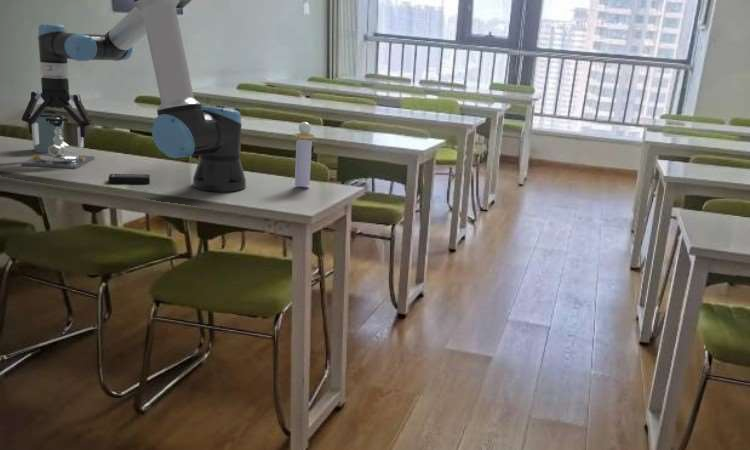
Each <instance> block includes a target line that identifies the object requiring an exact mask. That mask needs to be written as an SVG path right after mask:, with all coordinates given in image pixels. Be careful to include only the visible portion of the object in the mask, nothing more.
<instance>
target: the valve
mask: <svg viewBox="0 0 750 450" xmlns="http://www.w3.org/2000/svg"><path fill="white" fill-rule="evenodd" d="M46 121H49V122H50V124H52V125H54V126H56V129H55V130H54V132H55V134H56V136H55V137H54V138H53V141H54V144H53V145H52V146H50V147H48V153H49V154H50V155H51V156H53V157H56V156H62V155H64V154H65V153H66V152H70V145H69V144H68V143H67V142H65V140H64V136H63V137H62V136H60V134H61V129H59V126H61V125H62V121H64V123H68V122H69V117H65V116H64V117H56V116H52V117H46ZM52 122H54V123H52Z"/></svg>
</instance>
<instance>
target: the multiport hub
mask: <svg viewBox="0 0 750 450" xmlns="http://www.w3.org/2000/svg"><path fill="white" fill-rule="evenodd" d="M150 183H151V175H150V174H144V173H143V174H142V173H139V174H137V173H135V174H134V173H109V174H108V184H110V185H150Z"/></svg>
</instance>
